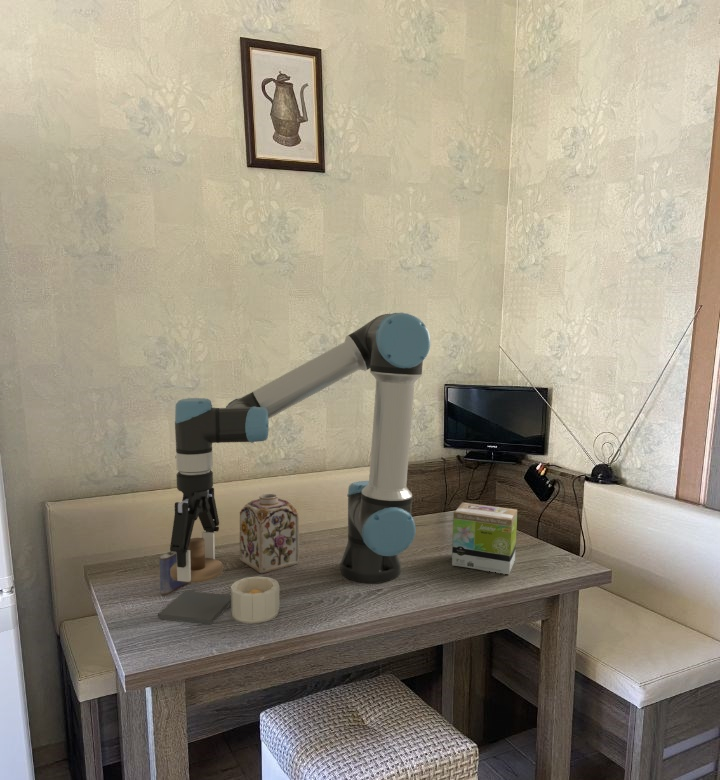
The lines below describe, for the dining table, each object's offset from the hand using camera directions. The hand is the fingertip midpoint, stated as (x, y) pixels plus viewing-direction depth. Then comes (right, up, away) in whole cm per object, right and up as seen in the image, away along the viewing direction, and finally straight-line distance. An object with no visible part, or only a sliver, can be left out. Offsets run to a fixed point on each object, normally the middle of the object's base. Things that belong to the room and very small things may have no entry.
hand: (196, 570), depth 136 cm
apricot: (+13, -9, -1) cm, 16 cm away
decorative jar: (+12, -6, +28) cm, 31 cm away
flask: (-8, -8, +12) cm, 16 cm away
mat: (0, -9, +1) cm, 9 cm away
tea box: (+68, -7, +27) cm, 74 cm away
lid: (0, 0, 0) cm, 1 cm away
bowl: (+13, -9, -1) cm, 16 cm away
